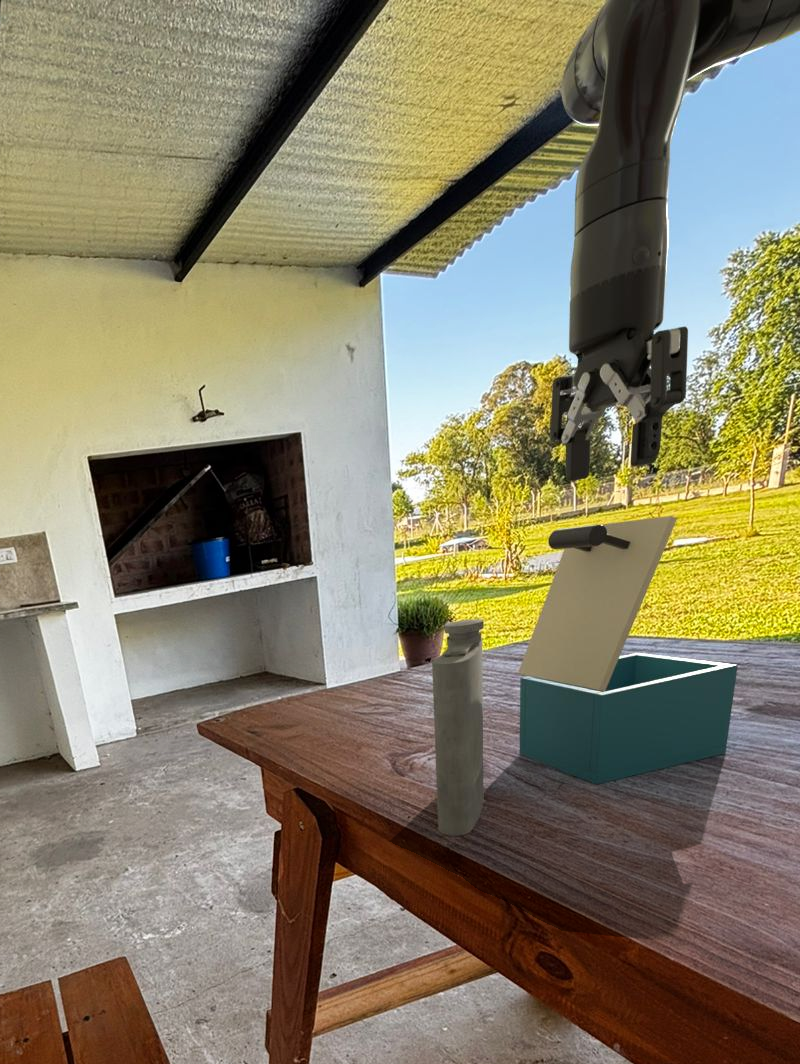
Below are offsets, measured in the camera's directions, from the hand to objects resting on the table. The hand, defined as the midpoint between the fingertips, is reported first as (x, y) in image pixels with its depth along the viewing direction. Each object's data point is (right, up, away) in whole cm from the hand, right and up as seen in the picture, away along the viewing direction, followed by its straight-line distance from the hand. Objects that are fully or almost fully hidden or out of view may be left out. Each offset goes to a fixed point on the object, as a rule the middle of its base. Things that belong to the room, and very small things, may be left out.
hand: (608, 473), depth 63 cm
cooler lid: (+1, -12, +4) cm, 13 cm away
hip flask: (-13, -34, +5) cm, 37 cm away
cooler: (+8, -28, +11) cm, 31 cm away
